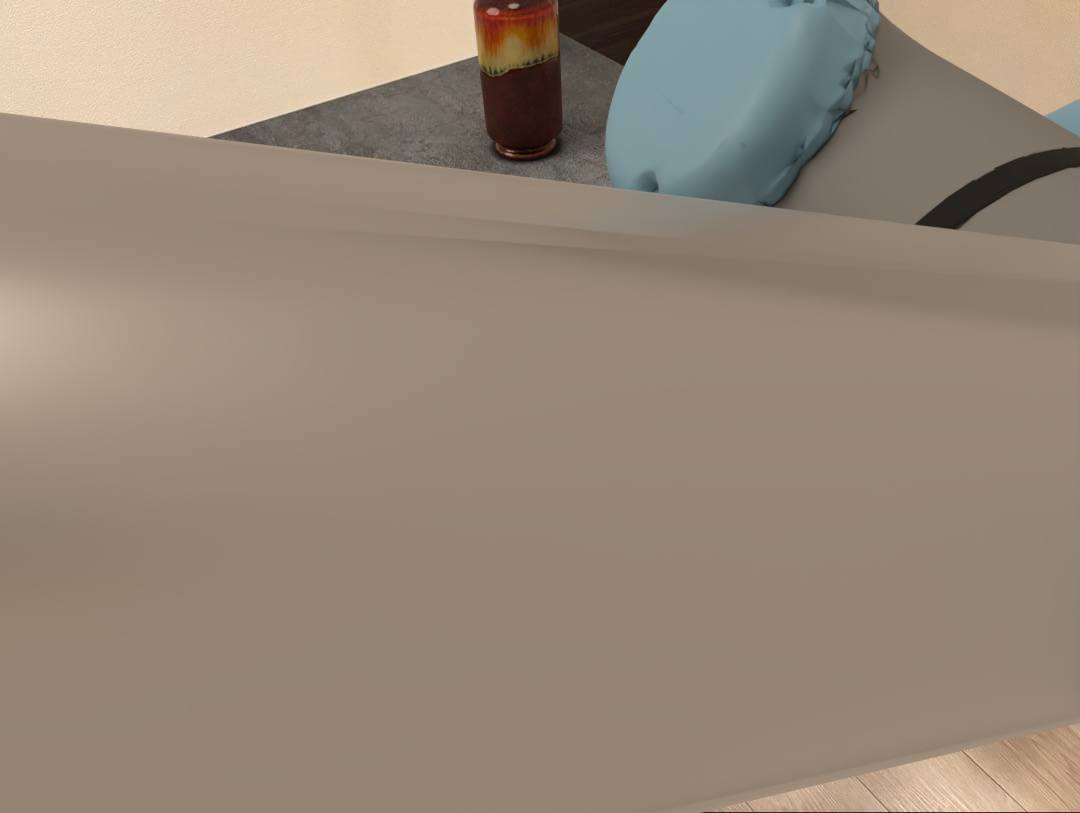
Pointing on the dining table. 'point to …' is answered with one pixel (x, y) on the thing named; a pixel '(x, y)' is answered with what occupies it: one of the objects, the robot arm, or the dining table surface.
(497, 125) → the vase
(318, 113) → the dining table surface
